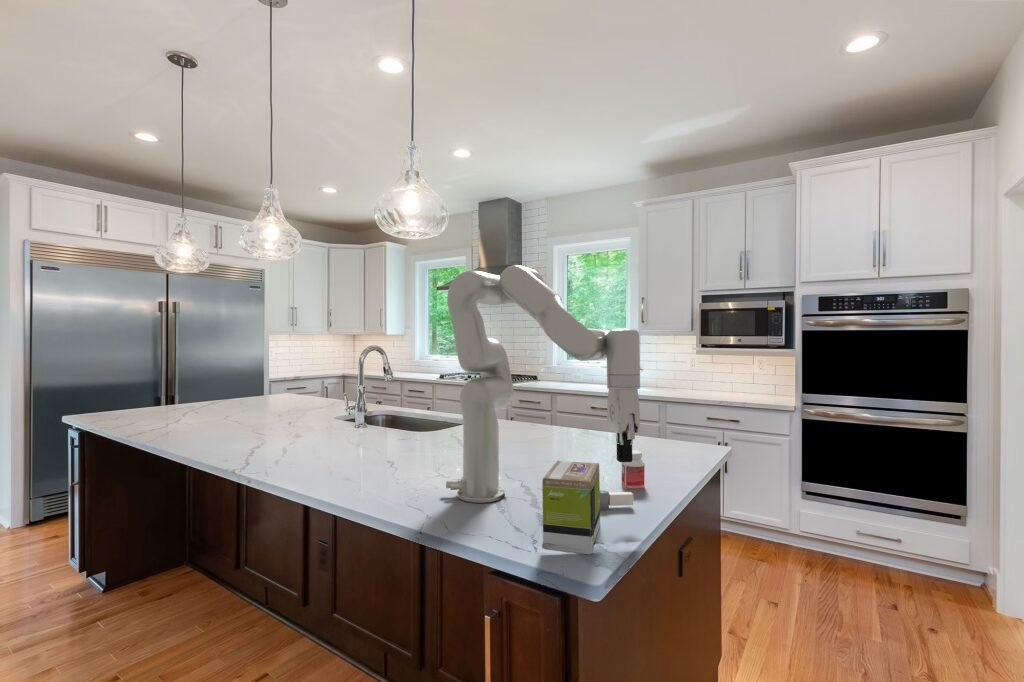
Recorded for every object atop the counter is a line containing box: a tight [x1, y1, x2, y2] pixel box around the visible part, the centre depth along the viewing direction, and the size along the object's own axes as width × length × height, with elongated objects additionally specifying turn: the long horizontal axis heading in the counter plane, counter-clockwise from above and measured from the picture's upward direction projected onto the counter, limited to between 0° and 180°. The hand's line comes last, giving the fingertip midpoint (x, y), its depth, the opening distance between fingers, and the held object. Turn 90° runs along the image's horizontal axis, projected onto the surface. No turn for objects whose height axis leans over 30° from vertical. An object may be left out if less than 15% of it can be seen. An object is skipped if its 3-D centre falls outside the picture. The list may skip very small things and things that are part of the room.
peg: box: [600, 489, 634, 511], centre depth 121 cm, size 9×3×4 cm, turn 96°
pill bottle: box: [621, 449, 646, 491], centre depth 139 cm, size 6×6×11 cm
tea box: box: [541, 460, 601, 555], centre depth 106 cm, size 15×10×15 cm, turn 163°
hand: (624, 461), depth 116 cm, fingers closed
